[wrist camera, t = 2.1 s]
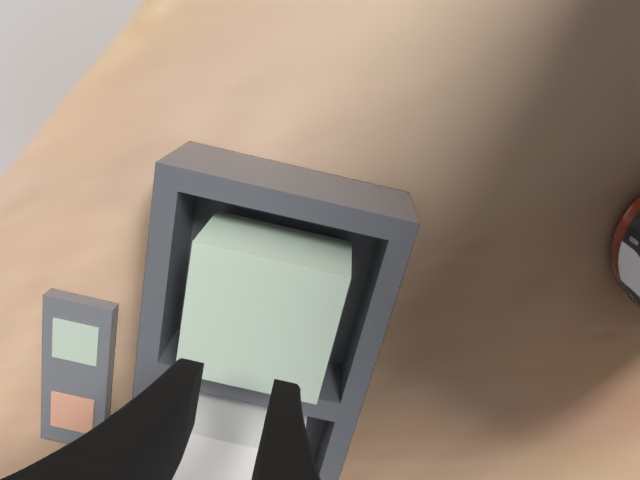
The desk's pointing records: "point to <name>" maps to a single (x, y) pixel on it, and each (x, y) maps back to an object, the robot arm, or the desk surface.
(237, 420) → the white key
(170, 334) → the grey divided tray
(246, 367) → the sage key
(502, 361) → the desk surface
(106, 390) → the card
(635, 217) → the supplement bottle
